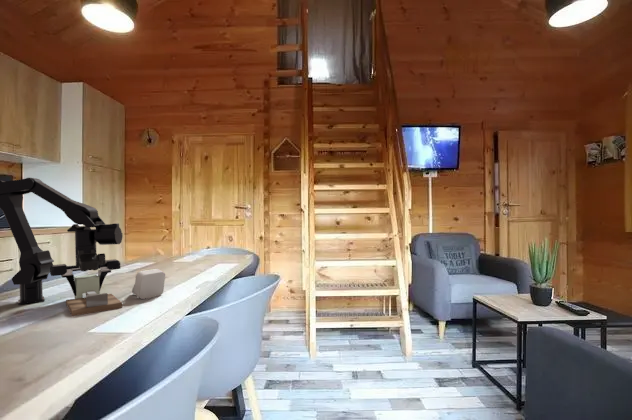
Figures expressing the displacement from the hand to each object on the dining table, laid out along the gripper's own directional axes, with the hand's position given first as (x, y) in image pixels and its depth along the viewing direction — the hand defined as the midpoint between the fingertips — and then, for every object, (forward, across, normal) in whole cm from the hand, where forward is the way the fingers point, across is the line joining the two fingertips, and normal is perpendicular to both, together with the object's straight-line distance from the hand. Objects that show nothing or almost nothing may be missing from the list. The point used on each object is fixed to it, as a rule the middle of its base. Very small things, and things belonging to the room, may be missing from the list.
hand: (87, 294), depth 118 cm
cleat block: (+2, 0, 0) cm, 2 cm away
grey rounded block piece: (+2, +15, -9) cm, 18 cm away
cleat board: (+2, 0, -13) cm, 13 cm away
